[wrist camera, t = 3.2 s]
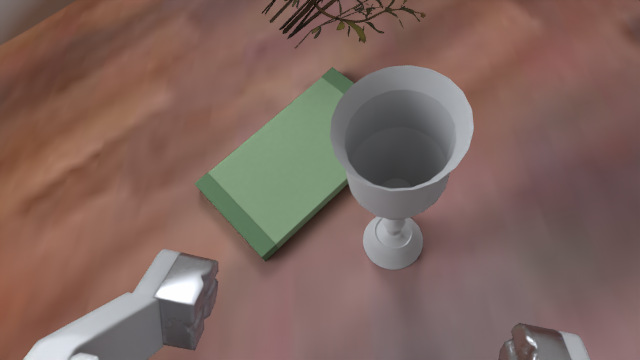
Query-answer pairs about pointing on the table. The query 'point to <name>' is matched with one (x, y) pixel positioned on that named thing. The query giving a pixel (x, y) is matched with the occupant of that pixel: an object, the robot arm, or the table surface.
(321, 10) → the dried plant
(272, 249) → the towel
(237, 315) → the table surface
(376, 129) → the chalice
